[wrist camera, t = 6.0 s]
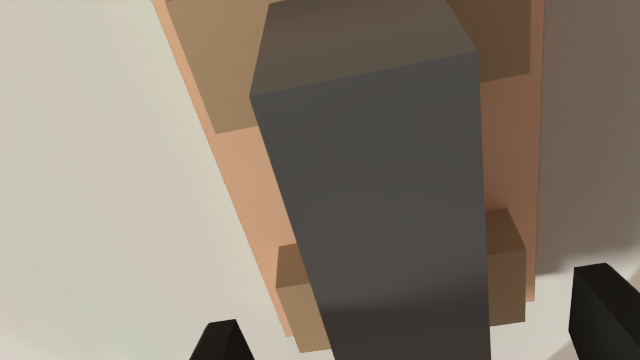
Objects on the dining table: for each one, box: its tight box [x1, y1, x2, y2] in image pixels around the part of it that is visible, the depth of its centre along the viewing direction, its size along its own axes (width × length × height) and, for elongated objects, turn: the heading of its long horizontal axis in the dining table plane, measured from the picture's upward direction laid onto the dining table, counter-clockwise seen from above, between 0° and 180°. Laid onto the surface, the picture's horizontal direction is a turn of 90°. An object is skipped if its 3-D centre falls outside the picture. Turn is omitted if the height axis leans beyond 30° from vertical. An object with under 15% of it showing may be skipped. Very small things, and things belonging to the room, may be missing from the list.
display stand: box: [151, 0, 545, 353], centre depth 16 cm, size 16×10×4 cm, turn 12°
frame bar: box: [249, 0, 491, 360], centre depth 13 cm, size 12×4×4 cm, turn 12°
